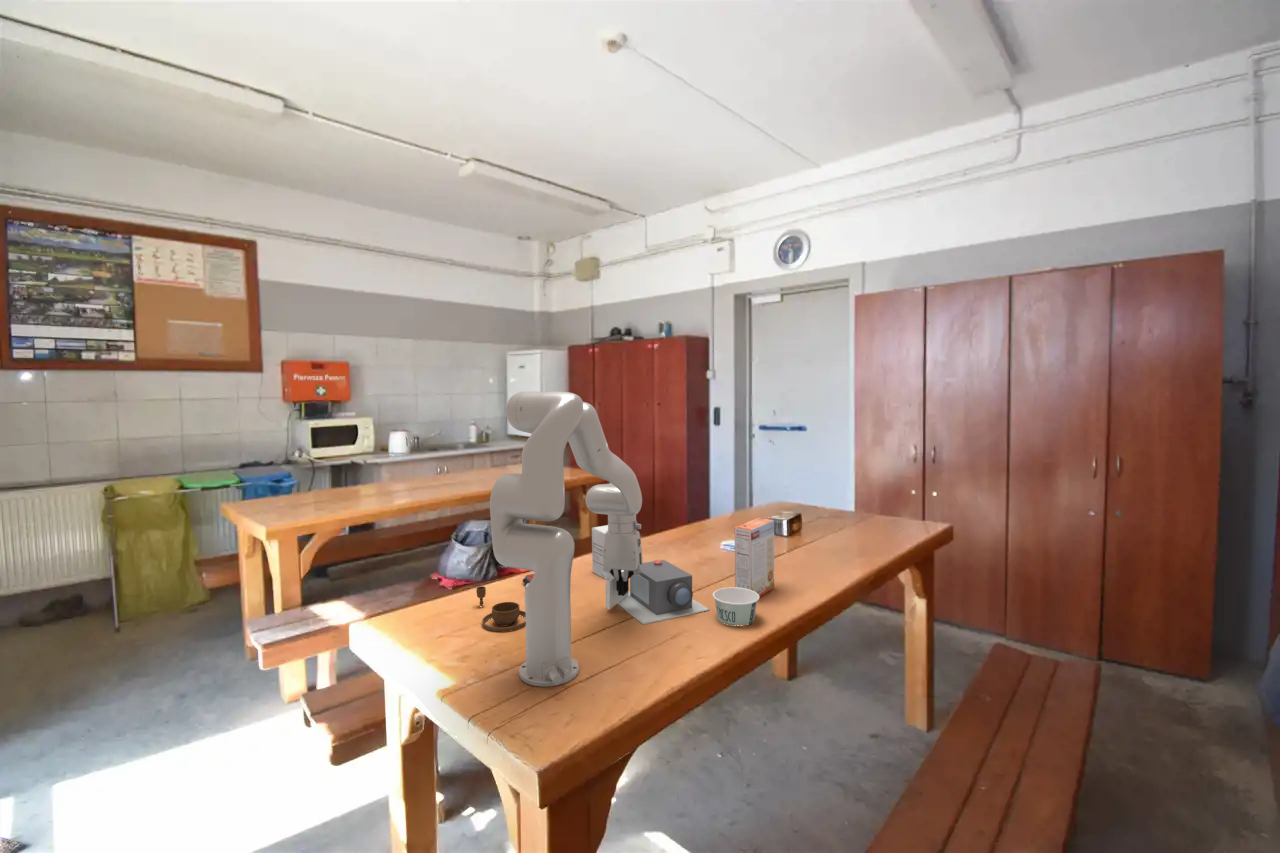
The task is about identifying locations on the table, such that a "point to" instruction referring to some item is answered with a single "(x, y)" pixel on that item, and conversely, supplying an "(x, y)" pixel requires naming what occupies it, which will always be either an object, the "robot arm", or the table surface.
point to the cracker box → (755, 555)
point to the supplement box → (599, 551)
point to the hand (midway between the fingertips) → (622, 593)
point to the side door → (612, 592)
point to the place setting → (501, 613)
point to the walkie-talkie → (528, 580)
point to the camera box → (660, 593)
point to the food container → (735, 605)
